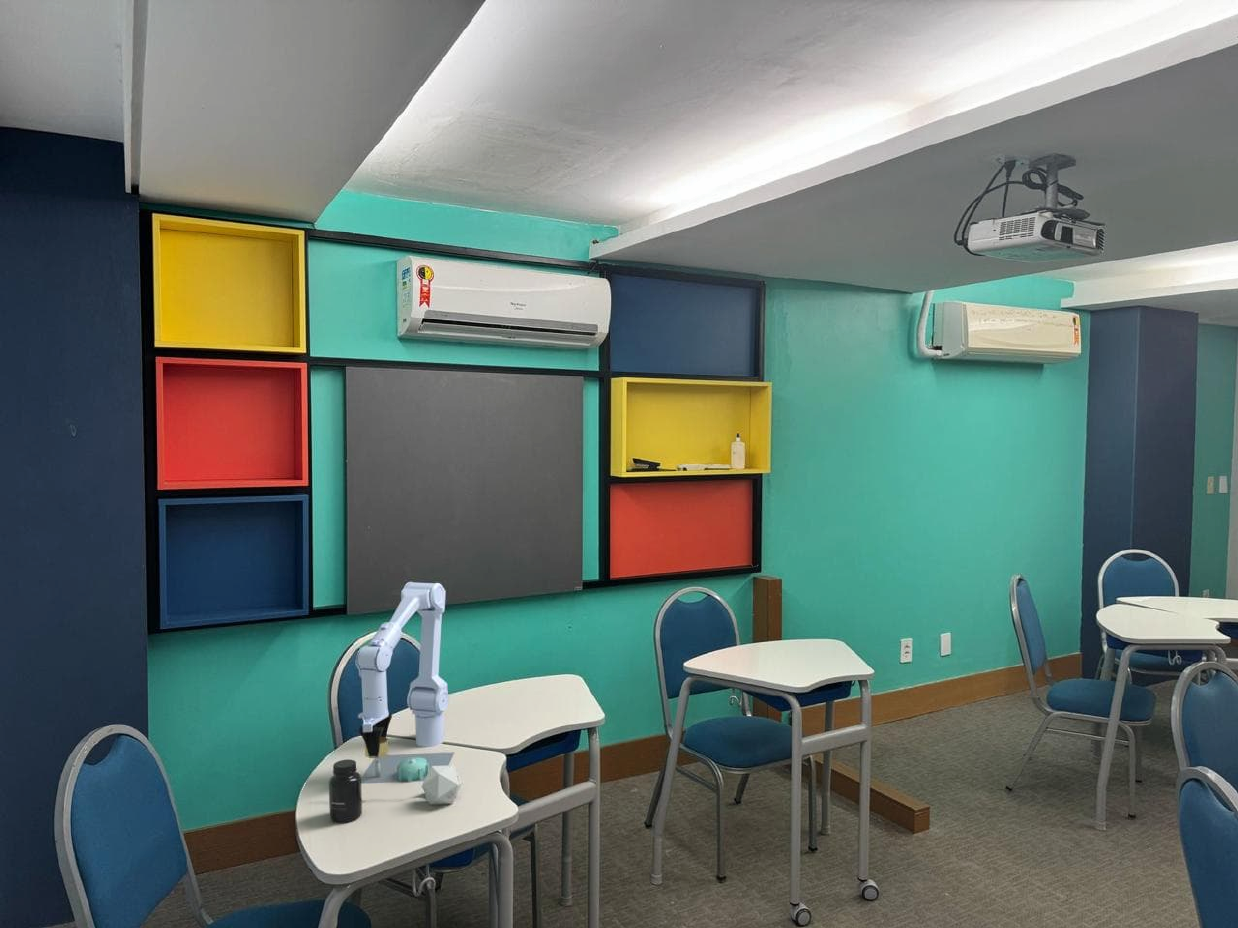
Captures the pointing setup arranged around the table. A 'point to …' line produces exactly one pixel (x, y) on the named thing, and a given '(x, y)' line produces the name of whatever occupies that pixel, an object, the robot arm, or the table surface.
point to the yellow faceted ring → (382, 750)
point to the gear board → (394, 761)
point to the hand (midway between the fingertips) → (377, 750)
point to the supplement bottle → (345, 792)
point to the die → (441, 784)
